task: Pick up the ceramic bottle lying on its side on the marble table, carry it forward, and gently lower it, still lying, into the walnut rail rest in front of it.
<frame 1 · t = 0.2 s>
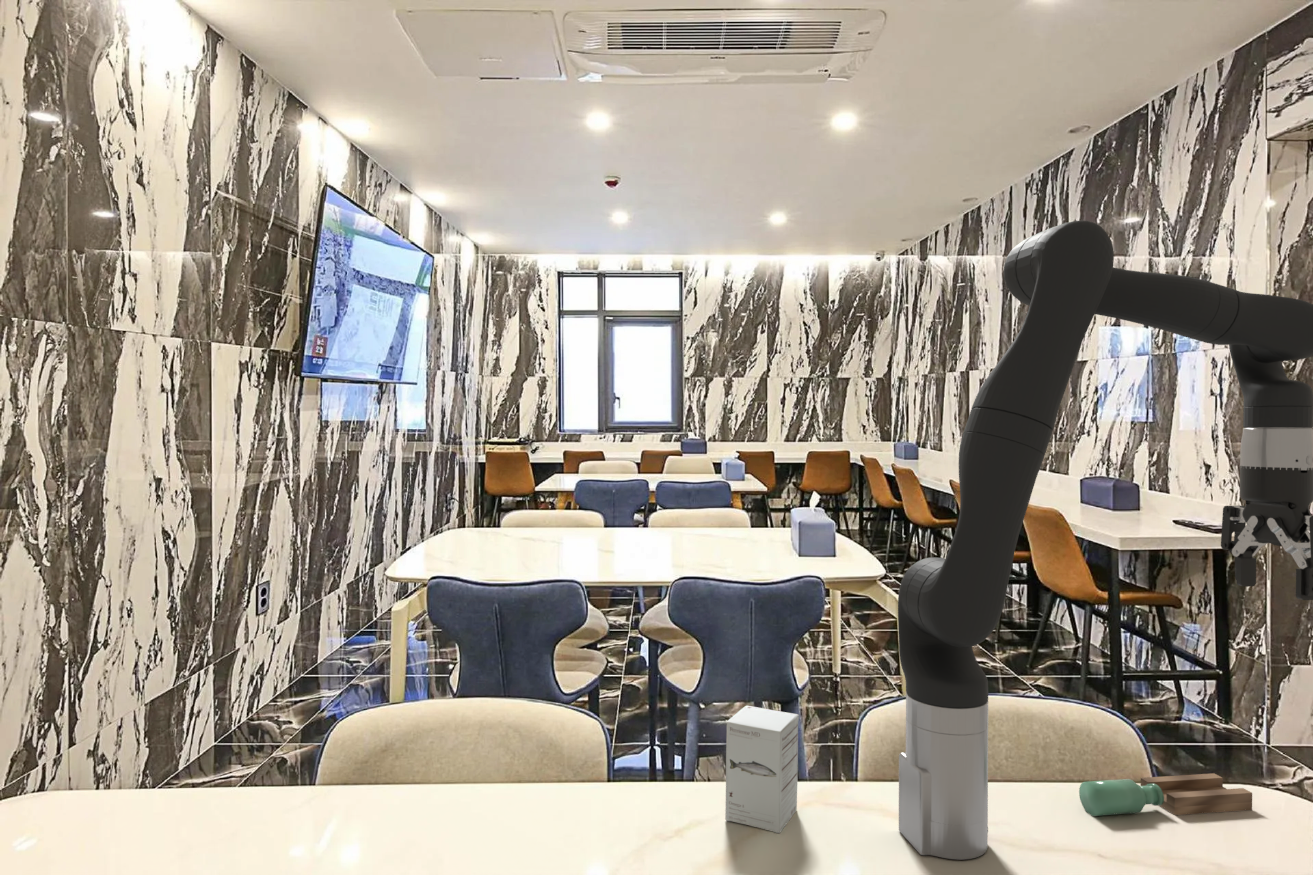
hand: (1275, 592, 102), 28 cm above the table, fingers open, 8 cm apart
supplement box: (762, 817, 103), on the table
bottle: (1121, 796, 104), point 2 cm above the table
bottle rest: (1195, 801, 107), on the table
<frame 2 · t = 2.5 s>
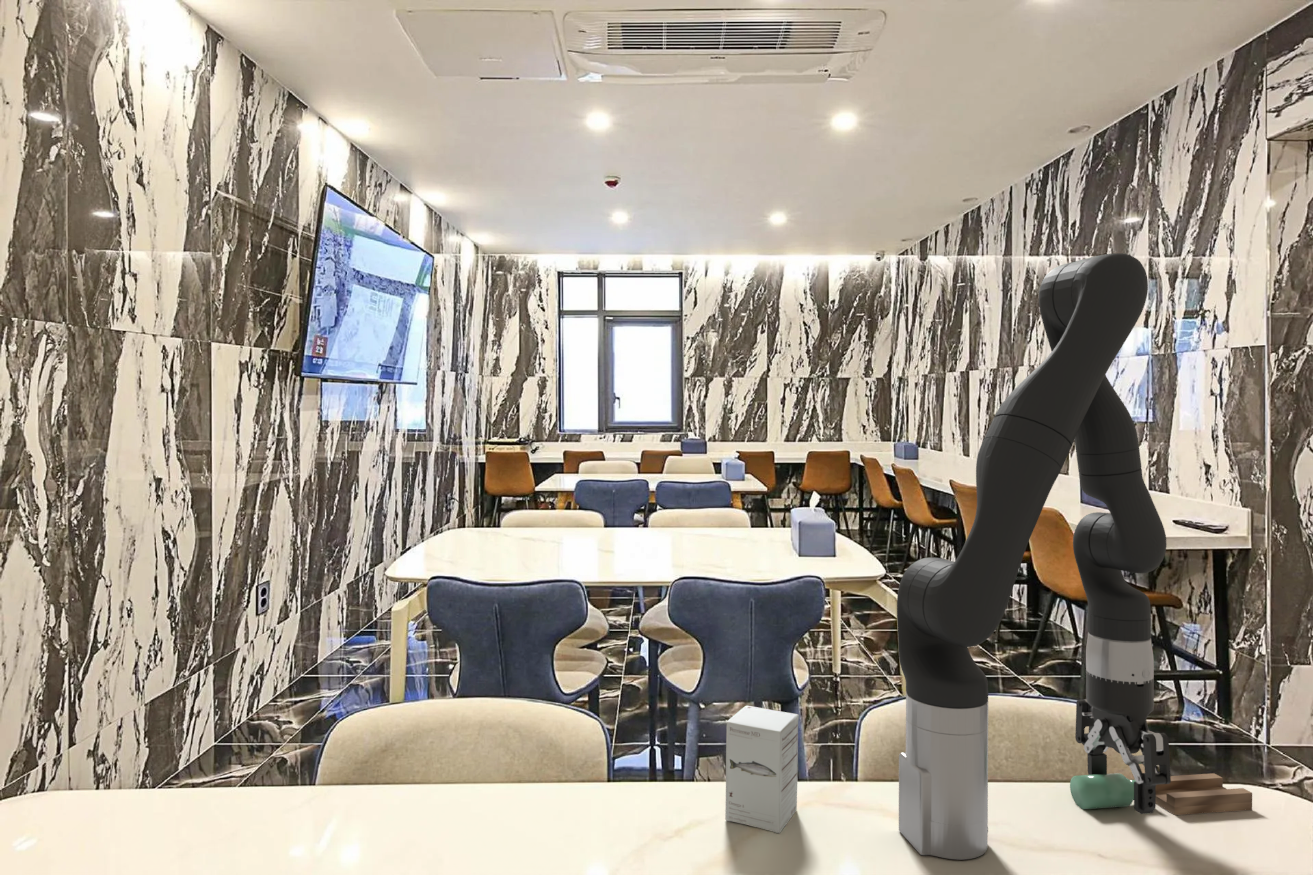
hand: (1120, 796, 104), 2 cm above the table, fingers open, 8 cm apart
bottle: (1111, 790, 106), point 2 cm above the table, tilted 59°
everything else where it was.
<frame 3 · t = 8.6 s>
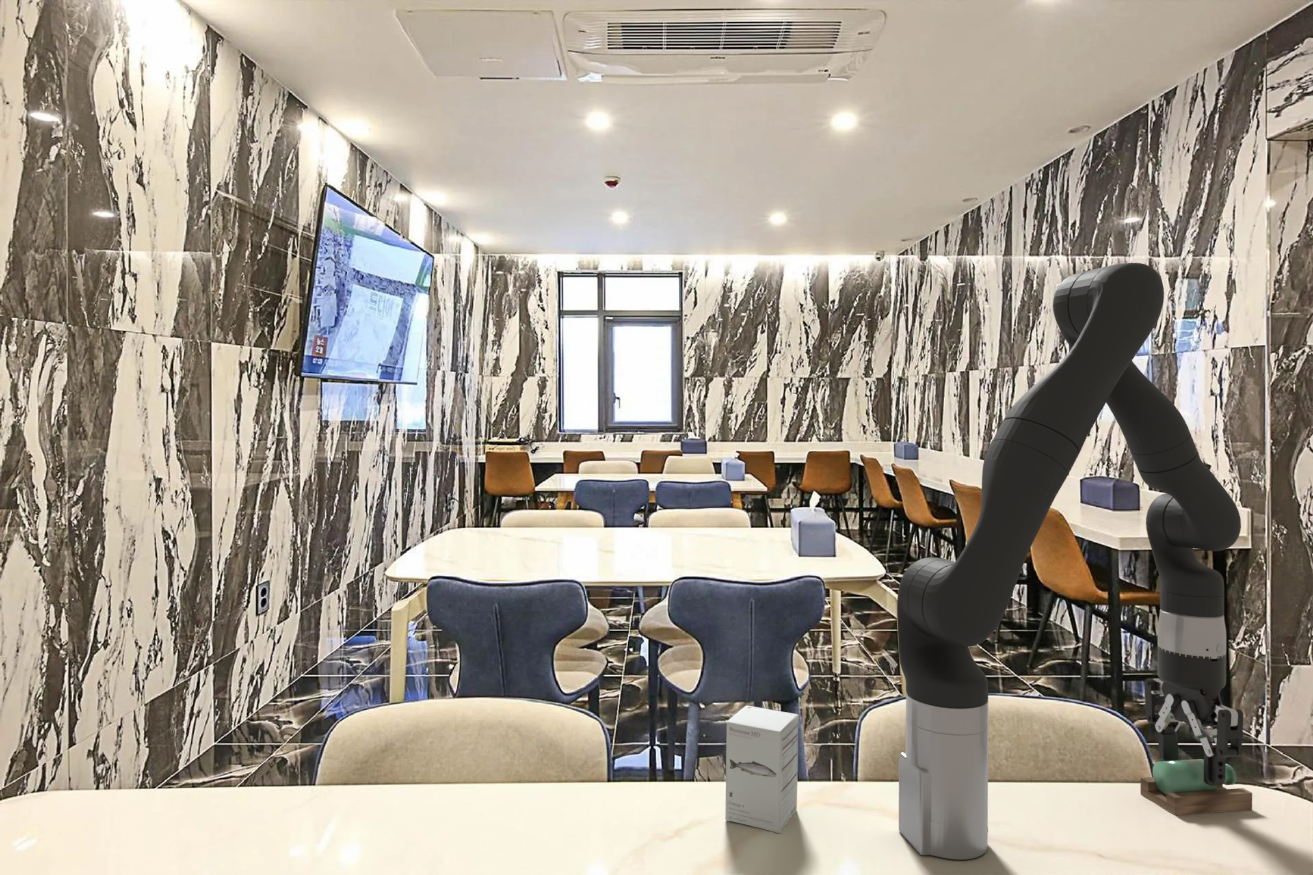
hand: (1190, 771, 107), 4 cm above the table, fingers open, 7 cm apart
bottle: (1194, 775, 107), point 3 cm above the table, touching bottle rest
everything else where it was.
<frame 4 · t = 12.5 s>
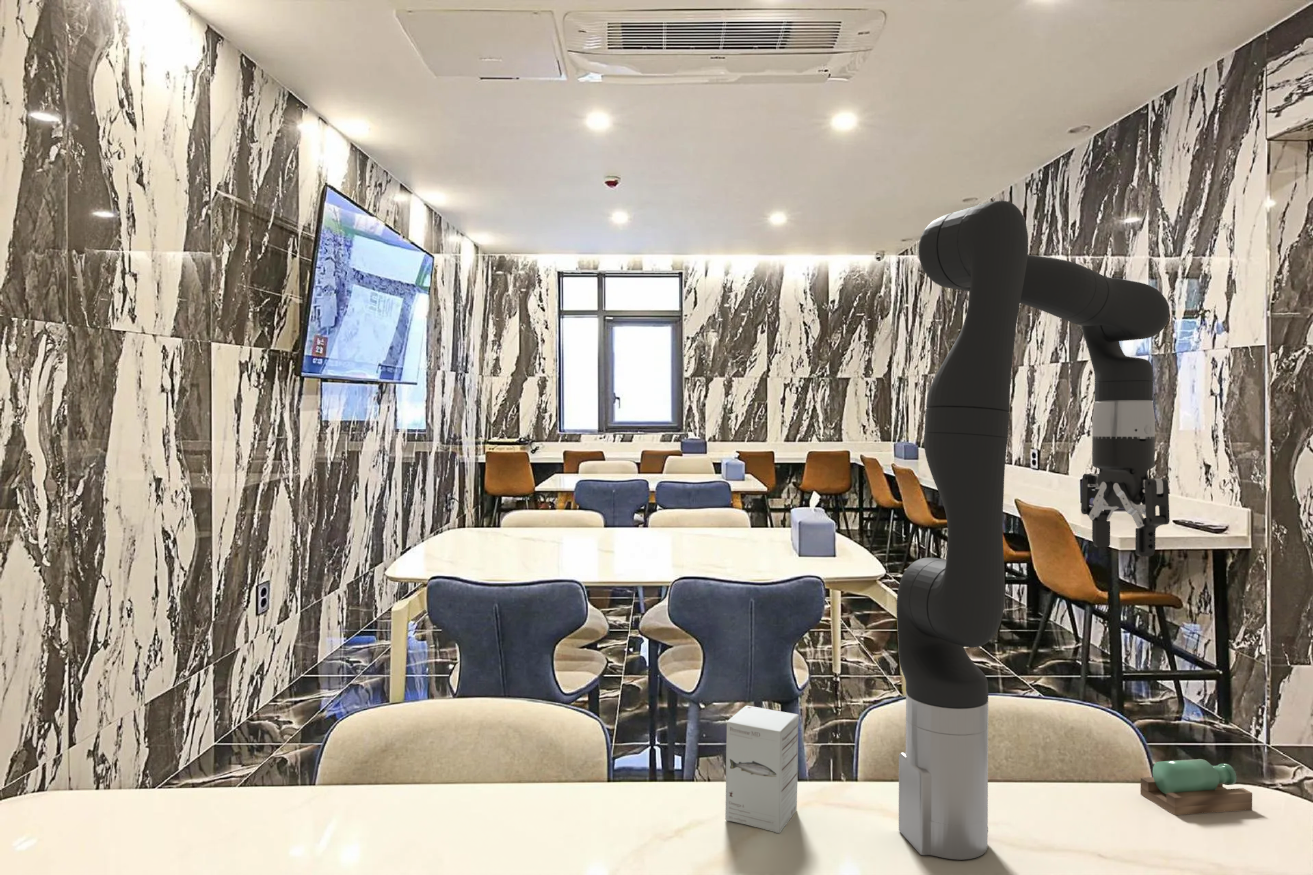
hand: (1122, 551, 112), 32 cm above the table, fingers open, 8 cm apart
nothing on the table moved.
at the end: bottle 0.1 cm off-centre on the bottle rest, point 3.4 cm above the bottle rest's base; bottle touching bottle rest; the gripper is holding nothing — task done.
